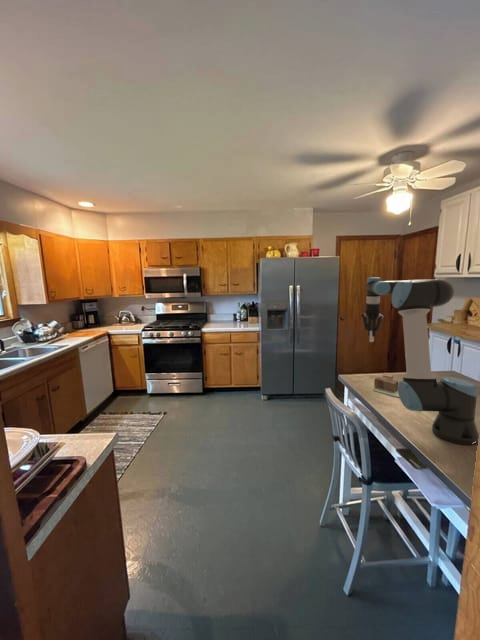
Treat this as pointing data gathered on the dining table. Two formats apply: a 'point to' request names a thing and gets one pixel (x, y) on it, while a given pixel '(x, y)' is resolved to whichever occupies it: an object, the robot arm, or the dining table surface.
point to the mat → (387, 392)
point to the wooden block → (386, 384)
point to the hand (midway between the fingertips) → (371, 341)
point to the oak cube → (388, 376)
